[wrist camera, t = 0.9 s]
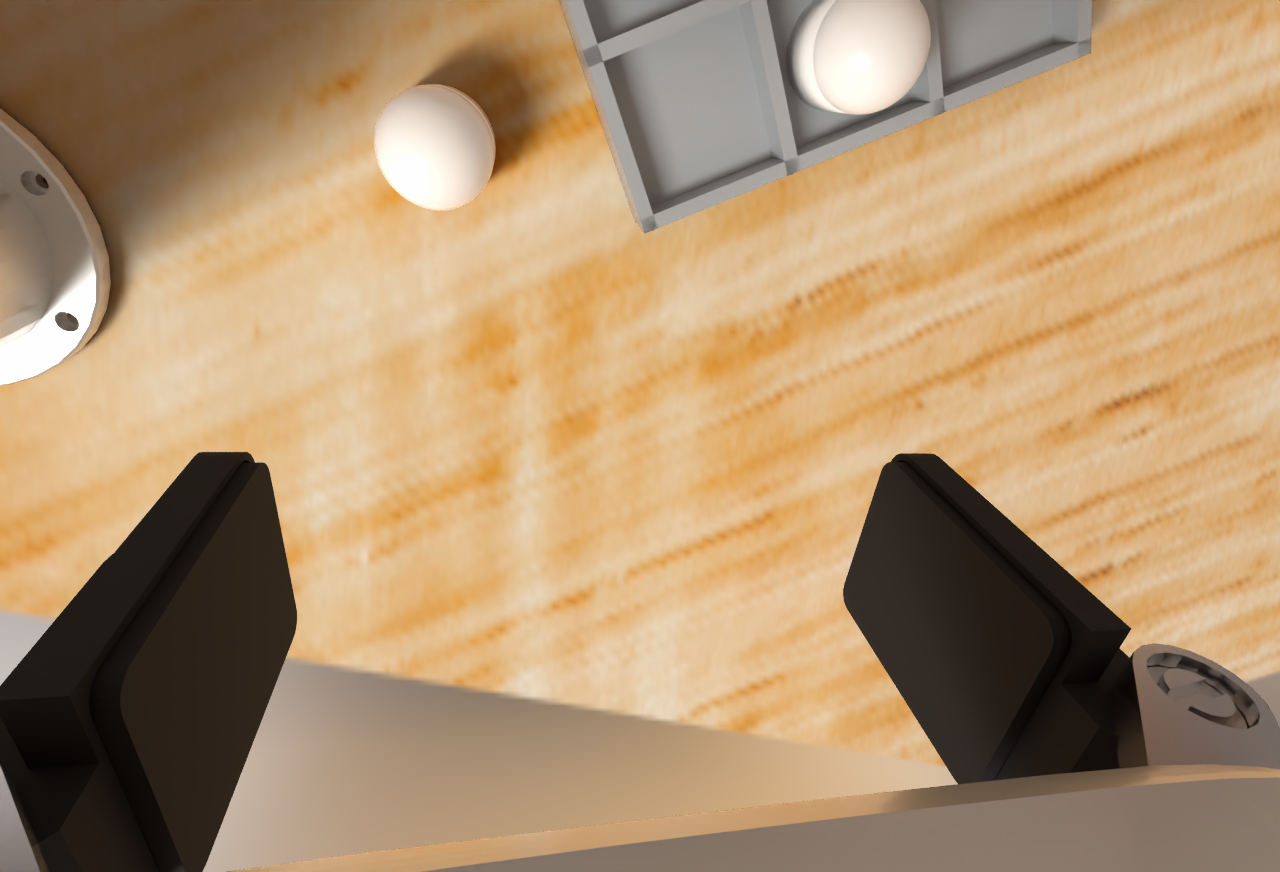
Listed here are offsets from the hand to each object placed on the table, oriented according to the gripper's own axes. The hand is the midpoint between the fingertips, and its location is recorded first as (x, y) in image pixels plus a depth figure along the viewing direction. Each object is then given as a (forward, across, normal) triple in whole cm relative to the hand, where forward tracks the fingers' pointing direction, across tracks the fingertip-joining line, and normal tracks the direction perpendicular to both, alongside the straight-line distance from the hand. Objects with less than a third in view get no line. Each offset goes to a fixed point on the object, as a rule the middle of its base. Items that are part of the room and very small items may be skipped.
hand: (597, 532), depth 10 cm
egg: (+23, +4, -3) cm, 23 cm away
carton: (+23, -11, -11) cm, 27 cm away
